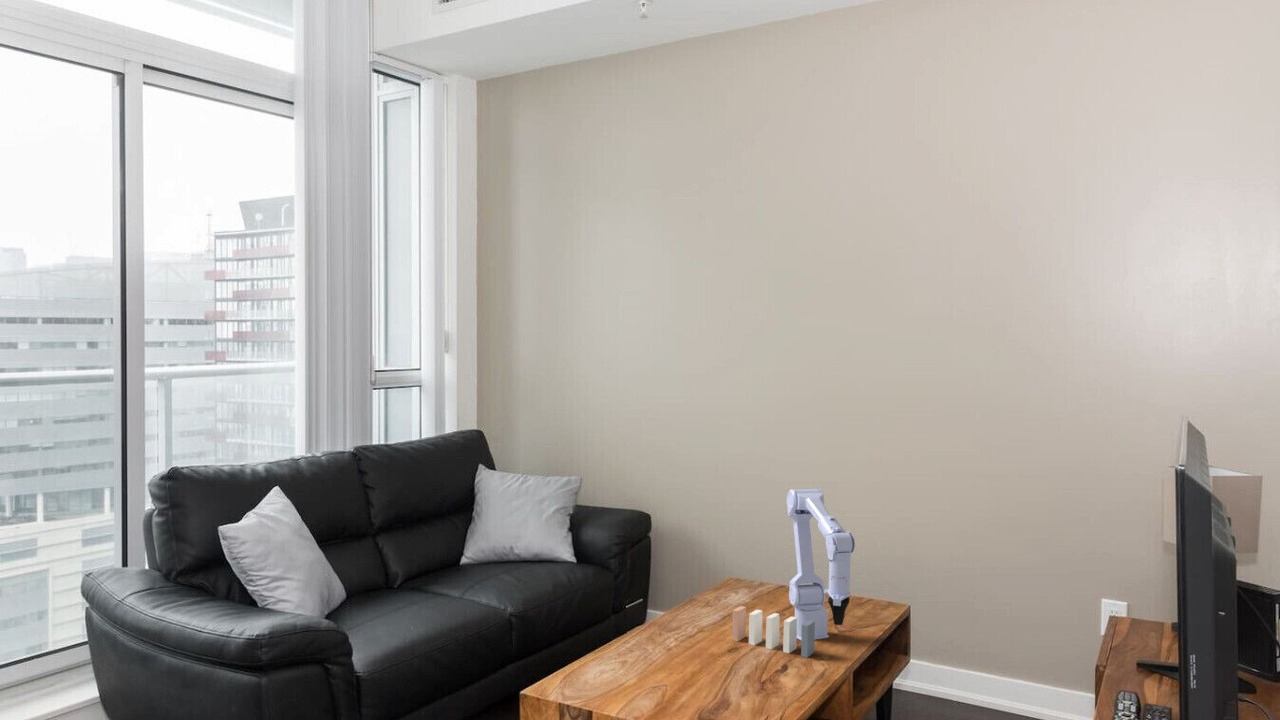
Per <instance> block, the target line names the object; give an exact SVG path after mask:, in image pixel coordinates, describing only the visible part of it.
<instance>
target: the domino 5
mask: <svg viewBox="0 0 1280 720" xmlns="http://www.w3.org/2000/svg"><path fill="white" fill-rule="evenodd" d="M814 638H815V621H811V620H808V621H807V622H805V623H804V624H802V639H801V640H800V641H801V642H800V643H801V646H800V647H801V649H800V650H801V651H800V656H801V657H804V658H808V657H810V656H811V655H813V654H814V653H815V640H814Z"/></svg>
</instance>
